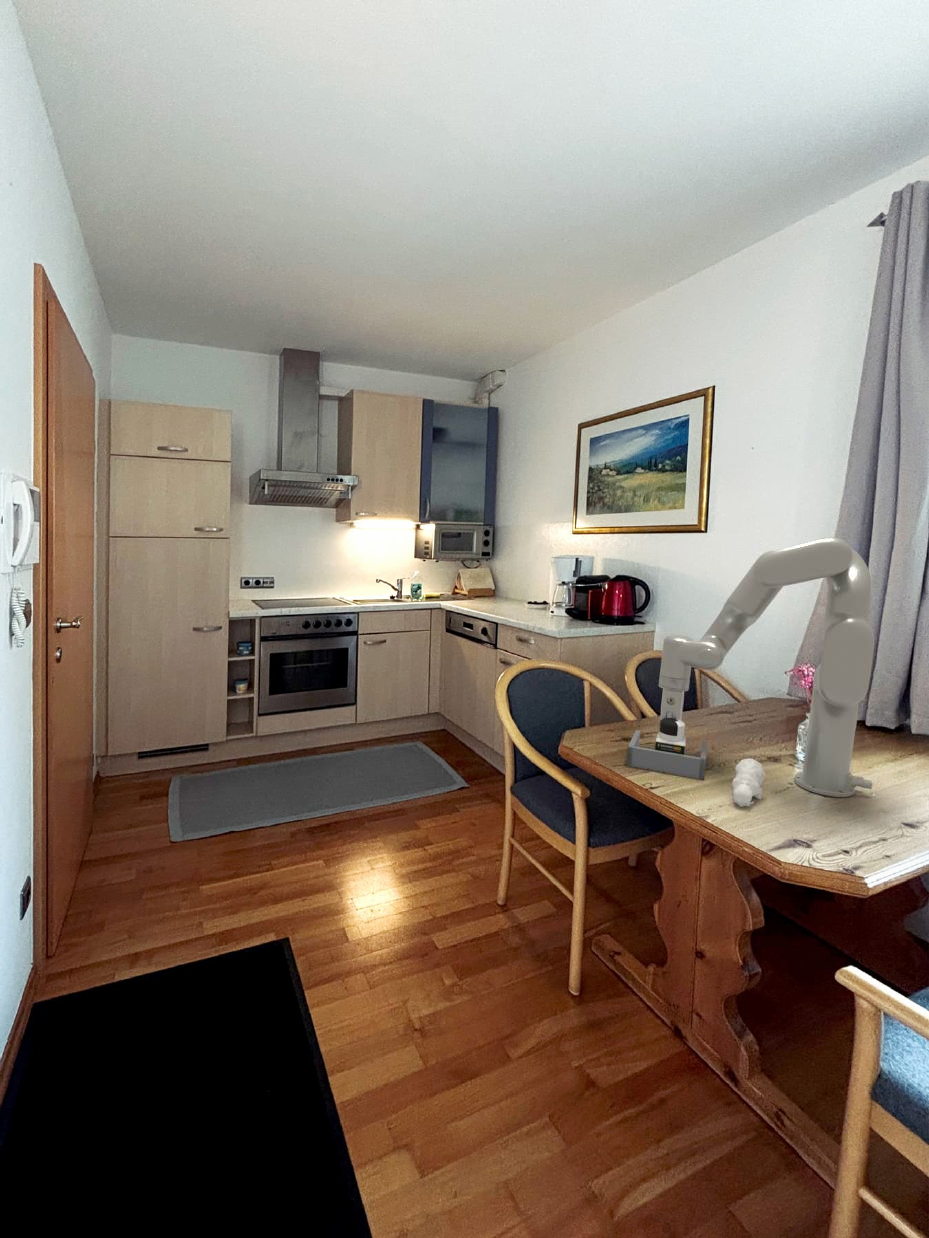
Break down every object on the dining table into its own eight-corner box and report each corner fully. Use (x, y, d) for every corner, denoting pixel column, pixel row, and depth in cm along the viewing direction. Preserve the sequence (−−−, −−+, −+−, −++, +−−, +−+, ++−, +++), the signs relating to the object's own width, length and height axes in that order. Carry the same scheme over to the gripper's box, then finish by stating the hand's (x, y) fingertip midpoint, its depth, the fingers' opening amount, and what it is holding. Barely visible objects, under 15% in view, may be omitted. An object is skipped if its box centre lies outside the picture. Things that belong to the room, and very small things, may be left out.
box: (705, 759, 160) (707, 741, 160) (703, 779, 146) (705, 760, 146) (634, 747, 167) (635, 729, 167) (626, 765, 153) (628, 746, 153)
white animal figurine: (767, 759, 138) (759, 780, 128) (764, 793, 140) (755, 816, 130) (738, 752, 141) (727, 773, 131) (734, 786, 143) (724, 808, 133)
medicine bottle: (653, 766, 153) (657, 721, 152) (655, 757, 160) (659, 714, 158) (682, 772, 151) (687, 726, 149) (683, 762, 157) (688, 718, 156)
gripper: (687, 690, 150) (679, 760, 153) (690, 678, 164) (683, 743, 167) (656, 686, 153) (648, 754, 156) (662, 674, 167) (655, 737, 170)
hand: (666, 748), depth 161 cm, fingers closed
